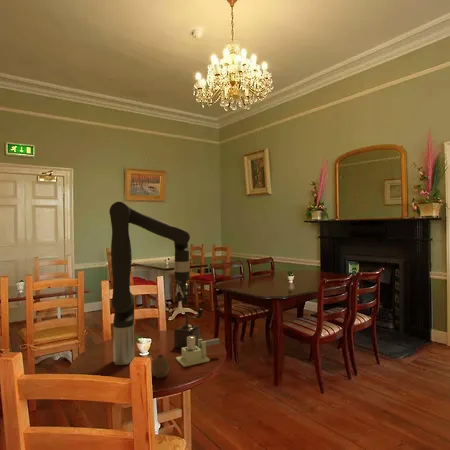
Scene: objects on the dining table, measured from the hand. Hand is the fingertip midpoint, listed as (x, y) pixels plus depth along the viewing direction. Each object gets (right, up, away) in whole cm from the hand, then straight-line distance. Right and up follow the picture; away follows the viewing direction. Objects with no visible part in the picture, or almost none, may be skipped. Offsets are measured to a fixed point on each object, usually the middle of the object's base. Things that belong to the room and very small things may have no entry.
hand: (181, 303), depth 176 cm
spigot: (+5, -25, -7) cm, 26 cm away
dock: (+5, -26, -7) cm, 27 cm away
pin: (+14, -19, -2) cm, 24 cm away
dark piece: (+3, -25, +16) cm, 30 cm away
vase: (-6, -26, -23) cm, 36 cm away
